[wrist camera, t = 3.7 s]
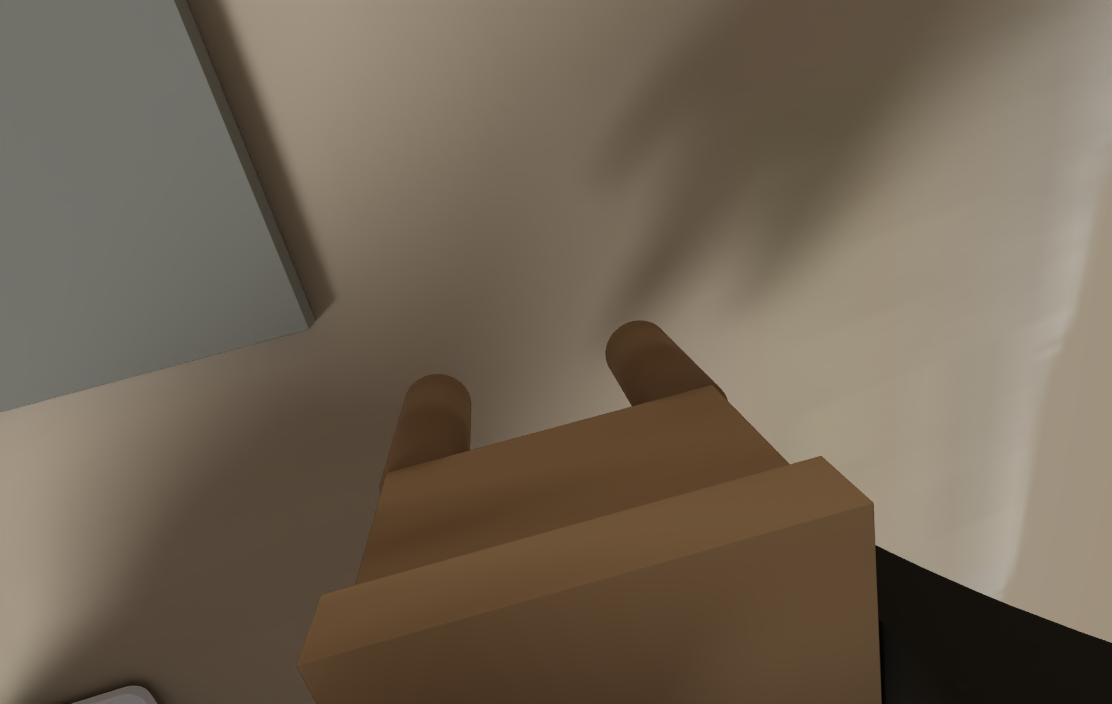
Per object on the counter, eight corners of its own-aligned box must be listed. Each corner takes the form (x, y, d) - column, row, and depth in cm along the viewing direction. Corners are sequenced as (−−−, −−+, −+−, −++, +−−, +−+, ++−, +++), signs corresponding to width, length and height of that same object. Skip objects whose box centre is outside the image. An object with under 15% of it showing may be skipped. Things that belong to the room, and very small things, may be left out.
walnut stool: (709, 581, 13) (890, 922, 7) (491, 643, 13) (499, 1044, 7) (663, 313, 11) (873, 503, 5) (396, 384, 10) (295, 665, 5)
